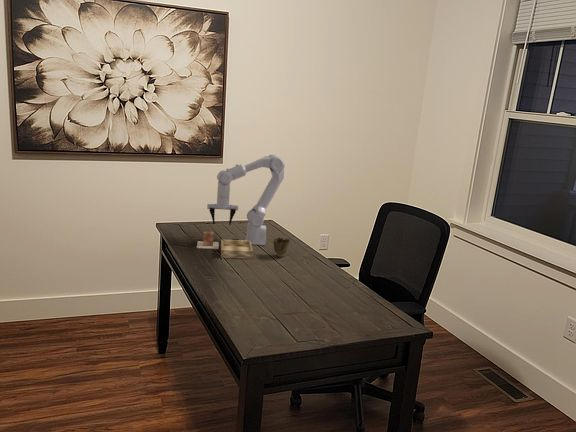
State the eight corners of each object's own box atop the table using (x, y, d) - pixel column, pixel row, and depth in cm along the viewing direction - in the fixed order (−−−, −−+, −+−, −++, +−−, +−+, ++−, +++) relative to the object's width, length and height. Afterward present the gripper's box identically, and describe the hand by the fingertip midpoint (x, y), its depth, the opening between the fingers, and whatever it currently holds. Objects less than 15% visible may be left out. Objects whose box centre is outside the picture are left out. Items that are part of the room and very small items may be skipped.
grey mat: (218, 242, 254) (218, 242, 254) (218, 249, 244) (218, 248, 244) (197, 241, 252) (197, 241, 252) (196, 248, 243) (196, 247, 243)
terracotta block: (212, 243, 251) (213, 231, 249) (212, 246, 246) (213, 234, 245) (203, 243, 250) (203, 230, 249) (203, 245, 246) (203, 233, 244)
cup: (269, 256, 240) (270, 240, 238) (275, 252, 246) (277, 236, 244) (284, 260, 237) (286, 243, 235) (290, 255, 244) (292, 239, 242)
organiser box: (250, 247, 250) (250, 240, 249) (252, 258, 235) (253, 251, 234) (220, 246, 248) (221, 239, 247) (220, 257, 233) (221, 249, 232)
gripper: (207, 197, 244) (206, 225, 247) (239, 198, 246) (237, 226, 249) (207, 194, 251) (206, 221, 254) (238, 195, 253) (236, 223, 256)
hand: (221, 224), depth 252 cm, fingers open, 7 cm apart
